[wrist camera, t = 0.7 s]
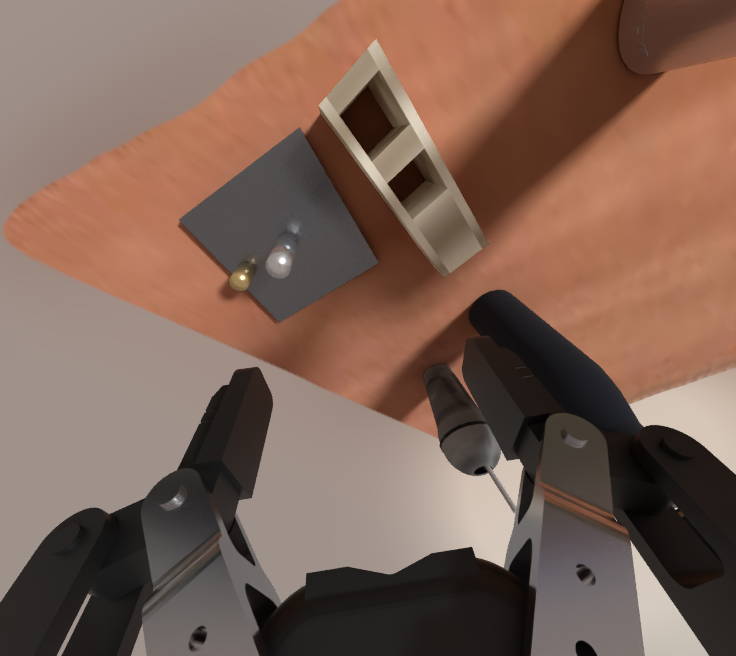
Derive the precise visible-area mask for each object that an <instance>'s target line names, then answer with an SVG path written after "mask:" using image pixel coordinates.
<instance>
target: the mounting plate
mask: <svg viewBox="0 0 736 656" xmlns="http://www.w3.org/2000/svg"><path fill="white" fill-rule="evenodd" d="M179 221H180V222H181V223H182V224H183V225H184V226H185V227H186V228H187V229H188V230H189V231H190V232H191V233H192V234H193V235H194V236H195V237H196V238H197V239H198V240H199V241H200V242H201V243H202V244H203V245H204V246H205V247H206V248H207V249H208V250H209V251H210V252H211V253H212V254H213V256H214V257H215V258H216V259H217V260H218V261H219V262H220V263H221V264H222V265H223V266H224V267H225V268H226V269H227V270H228V271H229V272H230V273H231V274H232V275H231V277H230V278H229V284H230V286H231V287H232V288H233V289H235V290H237V291H244V290H246V289H247V290H248V291H249V292H250V293H251V294H252V295H253V296H254V297H255V298H256V299H257V300H258V301H259V302H260V303H261V304H262V305H263V306H264V307H265V308H266V309H267V310H268V311H269V312H270V313H271V314H272V316H273V317H274V318H275V319H276V320H277V321H278V322H279V323H280V322H281V321H283V320H285V319H286V318H288V317H290V316H291V315H293V314H295V313H296V312H298V311H300V310H301V309H303V308H305V307H306V306H308V305H310V304H311V303H313V302H315V301H316V300H318V299H320V298H321V297H323V296H325V295H326V294H328V293H330V292H331V291H333V290H335V289H336V288H338V287H340V286H341V285H343V284H345V283H346V282H348V281H350V280H351V279H353V278H355V277H356V276H358V275H360V274H361V273H363V272H365V271H366V270H368V269H370V268H371V267H373V266H375V265H376V264H378V260H377V258H376V257H375V255H374V253H373V252H372V250H371V248H370V247H369V245H368V243H367V241H366V240H365V238H364V236H363V235H362V233H361V231H360V229H359V228H358V226H357V224H356V223H355V221H354V219H353V217H352V216H351V214H350V212H349V211H348V209H347V207H346V205H345V204H344V202H343V200H342V199H341V197H340V195H339V193H338V192H337V190H336V188H335V187H334V185H333V183H332V181H331V180H330V178H329V176H328V175H327V173H326V171H325V170H324V168H323V166H322V164H321V163H320V161H319V159H318V158H317V156H316V154H315V152H314V151H313V149H312V147H311V146H310V144H309V142H308V140H307V139H306V137H305V135H304V134H303V132H302V130H301V128H298V129H297V130H295V131H294V132H293V133H291V134H290V135H289V136H288V137H286V138H285V139H284V140H282V141H281V142H280V143H278V144H277V145H276V146H275V147H273V148H272V149H271V150H269V151H268V152H267V153H265V154H264V155H263V156H261V157H260V158H259V159H258V160H256V161H255V162H254V163H252V164H251V165H250V166H248V167H247V168H246V169H244V170H243V171H242V172H241V173H239V174H238V175H237V176H235V177H234V178H233V179H231V180H230V181H229V182H227V183H226V184H225V185H224V186H222V187H221V188H220V189H218V190H217V191H216V192H214V193H213V194H212V195H210V196H209V197H208V198H207V199H205V200H204V201H203V202H201V203H200V204H199V205H197V206H196V207H195V208H193V209H192V210H191V211H190V212H188V213H187V214H186V215H184V216H183V217H182V218H180V219H179Z"/></svg>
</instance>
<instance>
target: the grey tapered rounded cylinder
mask: <svg viewBox="0 0 736 656" xmlns="http://www.w3.org/2000/svg"><path fill="white" fill-rule="evenodd" d="M424 381H425V387H426V390H427V394H428V397H429V401H430V404H431V407H432V411H433V414H434V418H435V421H436V425H437V428H438V437H439V441H440V448H441V450H442V451H443V453H444V454H445V456H446V458H447V459H448V461H449V462H450V463H451V465H453V466H454V467H455V468H456V469H458V470H459V471H461V472H463V473H465V474H467V475H473V476H481V475H485V474H487V473H489V474H490V476H491V478H492V479H493V481H494V482H495V484H496V486H497V487H498V488H499V490H500V492H501V493H502V495H503V496H504V498H505V500H506V501H507V503H508V504H509V506H510V508H511V509H512V511H513V512H514V513H516V506H515V505H514V503H513V502H512V500H511V498H510V497H509V495H508V494H507V492H506V491H505V489H504V488H503V486H502V484H501V483H500V481H499V480H498V478H497V477H496V475H495V474H494V472H493V469H494V468H495V466H496V465H497V464H498V461H499V459H500V455H501V448H500V447H499V445H498V443H497V441H496V439H495V437H494V435H493V433H492V432H491V430H490V428H489V426H488V424H487V422H486V420H485V418H484V417H483V415H482V413H481V411H480V410H479V408H478V407H477V406H476V404H475V403H474V401H473V400H472V398H471V397H470V396H469V394H468V393H467V391H466V390H465V388H464V387H463V385H462V384H461V383H460V381H459V380H458V378H457V377H456V375H455V374H454V373H453V372H452V371H451V369H450V368H449V367H448V366H447V365H444V364H438V365H434V366H432V367H430V368H429V369H427V371H426V372H425V373H424Z"/></svg>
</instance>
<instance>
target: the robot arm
mask: <svg viewBox="0 0 736 656" xmlns="http://www.w3.org/2000/svg"><path fill="white" fill-rule="evenodd" d="M618 39H619V50H620V53H621V56H622V60H623V61H624V63H625V64H626V66H627V67H628V68H629V69H630V70H632V71H633V72H635V73H638V74H643V75H647V74H655V73H660V72H664V71H669V70H674V69H678V68H683V67H688V66H692V65H697V64H703V63H708V62H712V61H717V60H722V59H726V58H731V57H736V0H624V4H623V8H622V12H621V17H620V22H619V33H618ZM462 373H463V378H464V381H465V383H466V385H467V387H468V389H469V390H470V392H471V394H472V396H473V398H474V400H475V402H476V403H477V405H478V407H479V409H480V411H481V413H482V415H483V417H484V418H485V420H486V422H487V424H488V426H489V428H490V430H491V432H492V433H493V435H494V437H495V439H496V441H497V443H498V445H499V447H500V448H501V450H502V452H503V454H504V456H505V458H506V460H507V461H508V460H514V459H520V461H521V463H522V465H523V466H524V468H523V470H522V476H521V483H520V489H519V495H518V502H517V508H516V515H515V521H514V527H513V531H512V535H511V538H510V541H509V545H508V549H507V553H506V559H505V565H504V568H502V567H500V566H498V565H496V564H494V563H492V562H489V561H486V560H483V559H479V558H476V557H475V554H474V551H473V548H472V547H469V548H463V549H457V550H450V551H443V552H437V553H432V554H430V555H428V556H426V557H424V558H423V559H421V560H419V561H417V562H415V563H413V564H411V565H410V566H408V567H406V568H404V569H402V570H401V571H399V572H397V573H395V574H390V575H388V574H383V573H378V572H372V571H367V570H362V569H356V568H351V567H343V568H337V569H331V570H325V571H318V572H312V573H307V574H306V585H305V586H303V587H301V588H300V589H298V590H297V591H296V592H294V593H293V594H292V595H290V596H289V597H288V598H287V599H286V600H285V601H284V602H283V603H281V601H280V599H279V597H278V595H277V593H276V591H275V589H274V587H273V585H272V584H271V582H270V580H269V579H268V577H267V576H266V574H265V573H264V571H263V570H262V568H261V566H260V564H259V562H258V560H257V558H256V555H255V553H254V551H253V548H252V546H251V544H250V542H249V540H248V537H247V535H246V533H245V531H244V529H243V526H242V524H241V522H240V520H239V518H238V515H237V514H236V509H237V505H238V501H239V500H242V499H248V498H252V495H253V490H254V486H255V482H256V477H257V473H258V469H259V464H260V460H261V456H262V451H263V447H264V443H265V439H266V434H267V430H268V426H269V422H270V417H271V412H272V407H273V399H272V395H271V392H270V390H269V388H268V385H267V384H266V381H265V379H264V377H263V374H262V372H261V370H260V369H259V368H258V367H253V368H245V369H238V370H236V371H235V372H234V374H233V376H232V379H231V381H230V383H229V385H224V386H222V387H221V388H220V389H219V391H217V393H216V394H215V395H214V396H213V397H212V398H211V400H210V403H209V405H208V407H207V409H206V413H204V415H203V417H202V419H201V424H199V426H198V428H197V430H196V432H195V434H194V436H193V438H192V440H191V442H190V445H189V447H188V449H187V451H186V453H185V455H184V457H183V459H182V462H181V463H180V466H179V467H178V469H177V471H174V472H172V473H170V474H169V475H167V476H166V477H164V478H163V479H161V480H160V481H159V482H158V483H157V484H156V485H155V486H154V487H153V488H152V489H151V491H150V492H149V493H148V495H147V496H146V498H144V499H142V500H140V501H138V502H136V503H133V504H131V505H129V506H127V507H125V508H122V509H120V510H118V511H115V512H114V513H111V514H108V513H106V512H105V511H103V510H102V509H99V508H89V509H85V510H82V511H80V512H78V513H76V514H74V515H72V516H71V517H69V518H67V519H66V520H65V521H63V522H62V523H61V524H59V525H58V526H57V527H56V528H55V529H54V530H53V531H52V532H51V533H50V534H49V535H48V536H47V537H46V538H45V539H44V540H43V541H42V543H41V544H40V546H39V547H38V548H37V550H36V551H35V553H34V554H33V556H32V557H31V559H30V560H29V561H28V563H27V565H26V566H25V567H24V569H23V570H22V572H21V573H20V575H19V576H18V578H17V579H16V581H15V582H14V583H13V585H12V586H11V588H10V589H9V591H8V592H7V594H6V595H5V597H4V598H3V600H2V601H1V602H0V656H57V654H58V652H59V650H60V648H61V645H62V644H63V642H64V640H65V638H66V636H67V634H68V632H69V630H70V628H71V626H72V624H73V622H74V620H75V618H76V616H77V614H78V612H79V610H80V608H81V606H82V604H83V602H84V600H85V598H86V596H87V594H89V595H91V597H90V599H89V601H88V603H87V605H86V607H85V609H84V611H83V613H82V615H81V618H80V620H79V622H78V623H77V625H76V628H75V630H74V632H73V634H72V636H71V638H70V640H69V642H68V644H67V646H66V648H65V650H64V652H63V654H62V656H131V653H132V651H133V648H134V645H135V642H136V639H137V637H138V634H139V631H140V628H141V626H142V624H143V631H144V639H145V646H146V653H147V656H645V655H644V647H643V639H642V631H641V623H640V614H639V607H638V598H637V591H636V583H635V574H634V566H633V558H632V549H631V542H630V540H631V541H632V543H633V545H634V546H635V547H636V549H637V550H638V552H639V553H640V555H641V556H642V558H643V559H644V561H645V562H646V564H647V565H648V566H649V568H650V569H651V571H652V572H653V574H654V575H655V577H656V578H657V580H658V581H659V583H660V584H661V586H662V587H663V588H664V590H665V591H666V593H667V594H668V596H669V597H670V599H671V600H672V602H673V603H674V605H675V606H676V608H677V609H678V610H679V612H680V613H681V615H682V616H683V617H684V619H685V621H686V622H687V624H688V625H689V627H690V628H691V629H692V631H693V632H694V634H695V635H696V637H697V638H698V640H699V641H700V642H701V644H702V646H703V647H704V648H705V650H706V651H707V653H708V654H709V656H736V475H735V474H734V473H733V472H732V471H731V470H730V469H729V468H728V467H726V466H725V465H724V464H723V463H722V462H721V461H720V460H718V459H717V458H716V457H715V456H714V455H713V454H712V453H711V452H710V451H708V450H707V449H706V448H705V447H704V446H703V445H701V444H700V443H699V442H697V441H696V440H695V439H693V438H691V437H690V436H688V435H686V434H684V433H682V432H680V431H677V430H675V429H672V428H669V427H665V426H659V425H650V426H646V427H644V428H643V429H641V431H640V432H639V433H638V434H637V435H636V436H635V435H628V434H620V433H613V432H606V431H601V430H598V429H597V428H596V427H595V426H594V425H593V424H591V423H590V422H588V421H587V420H585V419H583V418H581V417H578V416H576V415H572V414H567V413H566V412H565V411H564V410H563V408H562V407H561V406H560V405H559V404H558V403H557V401H556V400H555V399H554V398H553V397H552V395H551V394H550V393H549V392H548V391H547V389H546V388H545V387H544V386H543V385H542V384H541V382H540V381H539V380H538V379H537V378H536V377H534V374H533V373H532V372H531V371H530V369H529V368H527V367H526V365H525V363H524V362H523V361H522V360H521V359H520V357H519V356H518V355H517V354H515V353H513V352H512V351H510V350H509V349H507V348H506V347H500V348H499V347H498V346H497V345H496V343H495V342H494V341H493V339H492V338H491V337H490V336H481V337H473V338H468V339H467V341H466V345H465V351H464V358H463V365H462ZM674 504H675V505H676V507H677V508H678V509H679V510H680V511H681V512H682V513H683V515H684V516H685V517H686V518H687V519H688V520H689V521H690V523H691V524H692V525H693V526H694V527H695V528H696V530H697V531H698V532H699V533H700V534H701V535H702V536H703V538H704V539H705V540H706V541H707V542H708V543H709V544H710V546H711V547H712V548H713V549H714V550H715V552H716V553H717V554H718V556H719V557H720V559H721V561H722V563H723V565H722V564H721V562H720V561H719V560H718V559H717V558H716V557H715V555H714V554H713V553H712V552H711V551H710V550H709V548H708V547H707V546H706V545H705V544H704V543H703V541H702V540H701V539H700V538H699V537H698V536H697V534H696V533H695V532H694V531H693V530H692V529H691V527H690V526H689V525H688V524H687V523H686V522H685V520H684V519H683V518H682V517H681V516H680V515H679V513H678V512H677V511H676V510H675V509H674V508H673V507H672V505H674ZM614 517H615V518H616V520H617V521H618V522H617V521H616V520H615V518H614Z"/></svg>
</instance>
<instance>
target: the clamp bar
mask: <svg viewBox="0 0 736 656" xmlns="http://www.w3.org/2000/svg"><path fill="white" fill-rule="evenodd" d="M367 86H368V87H369V89H370V91H371V92H372V94H373V96H374V97H375V99H376V100H377V102H378V104H379V105H380V107H381V109H382V110H383V112H384V113H385V115H386V117H387V118H388V120H389V122H390V123H391V125H392V126H393V128H392V130H391V131H390V132H389V133H388V134H387V135H386V136H385V137H384V138H383V139H382V140H381V141H380V142H379V143H378V144H377V145H376V146H375V147H374V148H373V149H372V150H371V151H370V152H369V153H368V154H366V153H365V152H364V150H363V149H362V147H361V146H360V144H359V143H358V142H357V140H356V139H355V137H354V136H353V134H352V133H351V132H350V130H349V129H348V127H347V126H346V125H345V123H344V122H343V120H342V119H341V117H340V116H341V115H342V114H343V113H344V112H345V111H346V109H347V108H348V107H349V106H350V105H351V104H352V103H353V102H354V101H355V99H356V98H357V97H358V96H359V95H360V94H361V93H362V92H363V91H364V89H365V88H366V87H367ZM319 110H320V114H321V115H322V117H323V118H324V119H325V121H326V122H327V124H328V125H329V126H330V128H331V129H332V130H333V132H334V133H335V134H336V136H337V137H338V138H339V140H340V141H341V143H342V144H343V145H344V147H345V148H346V149H347V151H348V152H349V153H350V155H351V156H352V157H353V159H354V160H355V162H356V163H357V164H358V166H359V167H360V168H361V170H362V171H363V172H364V174H365V175H366V177H367V178H368V179H369V181H370V182H371V183H372V185H373V186H374V187H375V189H376V190H377V191H378V193H379V194H380V196H381V197H382V198H383V200H384V201H385V202H386V204H387V205H388V206H389V208H390V209H391V210H392V212H393V213H394V215H395V216H396V217H397V219H398V220H399V221H400V223H401V224H402V225H403V227H404V228H405V229H406V231H407V232H408V234H409V235H410V236H411V238H412V239H413V240H414V242H415V243H416V244H417V246H418V247H419V248H420V250H421V251H422V253H423V254H424V255H425V257H426V258H427V259H428V260H429V261H430V262H431V264H432V265H433V266H434V267H435V268H436V269H437V270H438V272H439V273H440V274H441V275H442V276H443V277H444V278H445V277H446V276H447V275H449V274H450V273H451V272H453V271H454V270H455V269H457V268H458V267H459V266H461V265H462V264H463V263H465V262H466V261H467V260H469V259H470V258H471V257H472V256H474V255H475V254H476V253H478V252H479V251H480V250H482V249H483V248H484V247H486V246H487V245H488V244H489V243H488V241H487V239H486V237H485V236H484V234H483V232H482V230H481V228H480V227H479V225H478V223H477V221H476V219H475V217H474V216H473V214H472V212H471V210H470V208H469V207H468V205H467V203H466V201H465V199H464V198H463V196H462V194H461V192H460V190H459V188H458V187H457V185H456V183H455V181H454V179H453V178H452V176H451V174H450V172H449V170H448V168H447V167H446V165H445V163H444V161H443V159H442V158H441V156H440V154H439V152H438V150H437V149H436V147H435V145H434V143H433V141H432V139H431V138H430V136H429V134H428V132H427V130H426V129H425V127H424V125H423V123H422V121H421V120H420V118H419V116H418V114H417V112H416V110H415V109H414V107H413V105H412V103H411V101H410V100H409V98H408V96H407V94H406V92H405V90H404V89H403V87H402V85H401V83H400V81H399V80H398V78H397V76H396V74H395V72H394V71H393V69H392V67H391V65H390V63H389V61H388V60H387V58H386V56H385V54H384V52H383V51H382V49H381V47H380V45H379V43H378V41H377V40H375V41H374V42H373V43H372V44H371V45H370V47H369V48H368V49H367V50H366V51H365V52H364V54H363V55H362V56H361V57H360V58H359V59H358V61H357V62H356V63H355V64H354V65H353V66H352V67H351V69H350V70H349V71H348V72H347V73H346V74H345V76H344V77H343V78H342V79H341V80H340V81H339V83H338V84H337V85H336V86H335V87H334V88H333V90H332V91H331V92H330V93H329V94H328V95H327V97H326V98H325V99H324V100H323V101H322V102H321V103H320V105H319ZM411 160H413V161H414V162H415V164H416V166H417V167H418V169H419V171H420V172H421V174H422V175H423V177H424V179H425V180H426V181H425V182H424V183H422V184H421V185H420V186H419V187H418V188H417V189H416V190H415V191H414V192H412V193H411V194H410V195H409V196H408V197H407V198H406V199H405V200H404V201H402V202H401V203H400V201H399V200H398V199H397V197H396V196H395V194H394V193H393V191H392V190H391V189H390V187H389V186H388V184H387V183H388V182H389V181H390V180H391V179H392V178H394V177H395V176H396V175H397V174H398V173H399V172H400V171H401V170H402V169H403V168H404V167H405V166H406V165H407V164H408V163H409V162H410V161H411Z"/></svg>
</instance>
